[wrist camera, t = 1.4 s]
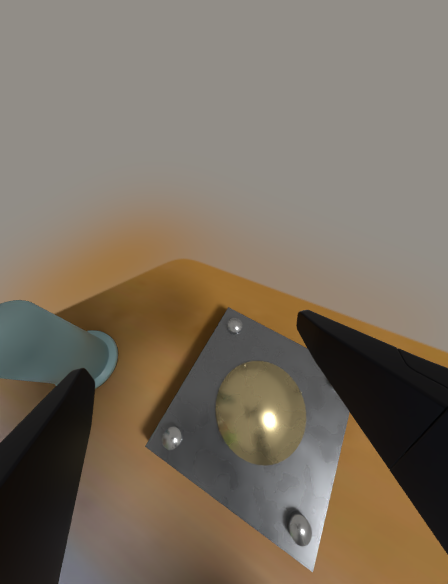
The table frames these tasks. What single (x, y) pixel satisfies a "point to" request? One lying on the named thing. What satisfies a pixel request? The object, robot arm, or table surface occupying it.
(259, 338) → the plate
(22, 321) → the light blue flanged post
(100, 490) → the table surface
